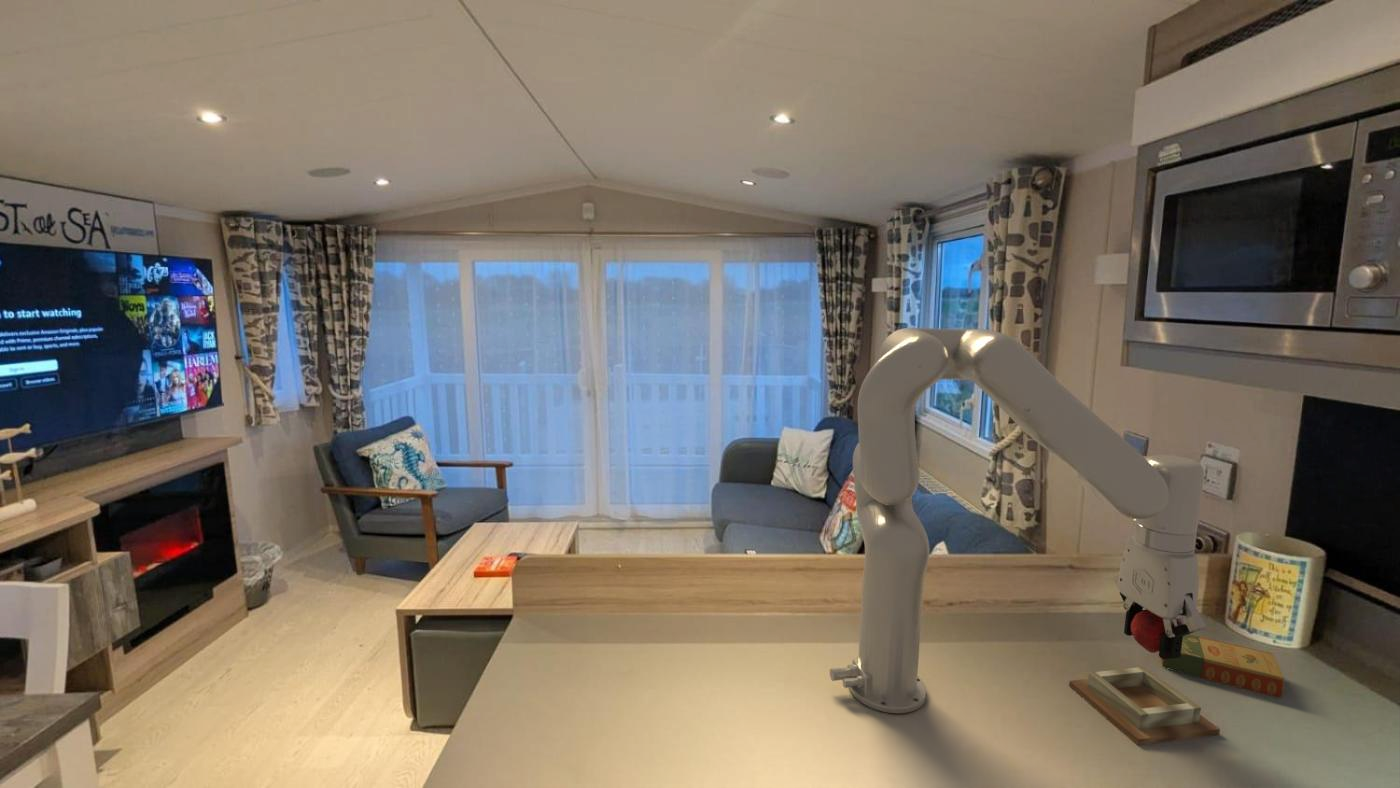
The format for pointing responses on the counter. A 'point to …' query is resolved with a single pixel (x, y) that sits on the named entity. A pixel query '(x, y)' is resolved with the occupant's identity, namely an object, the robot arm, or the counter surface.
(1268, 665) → the carton
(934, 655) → the counter surface
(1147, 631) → the onion
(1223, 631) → the counter surface
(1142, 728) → the holder
